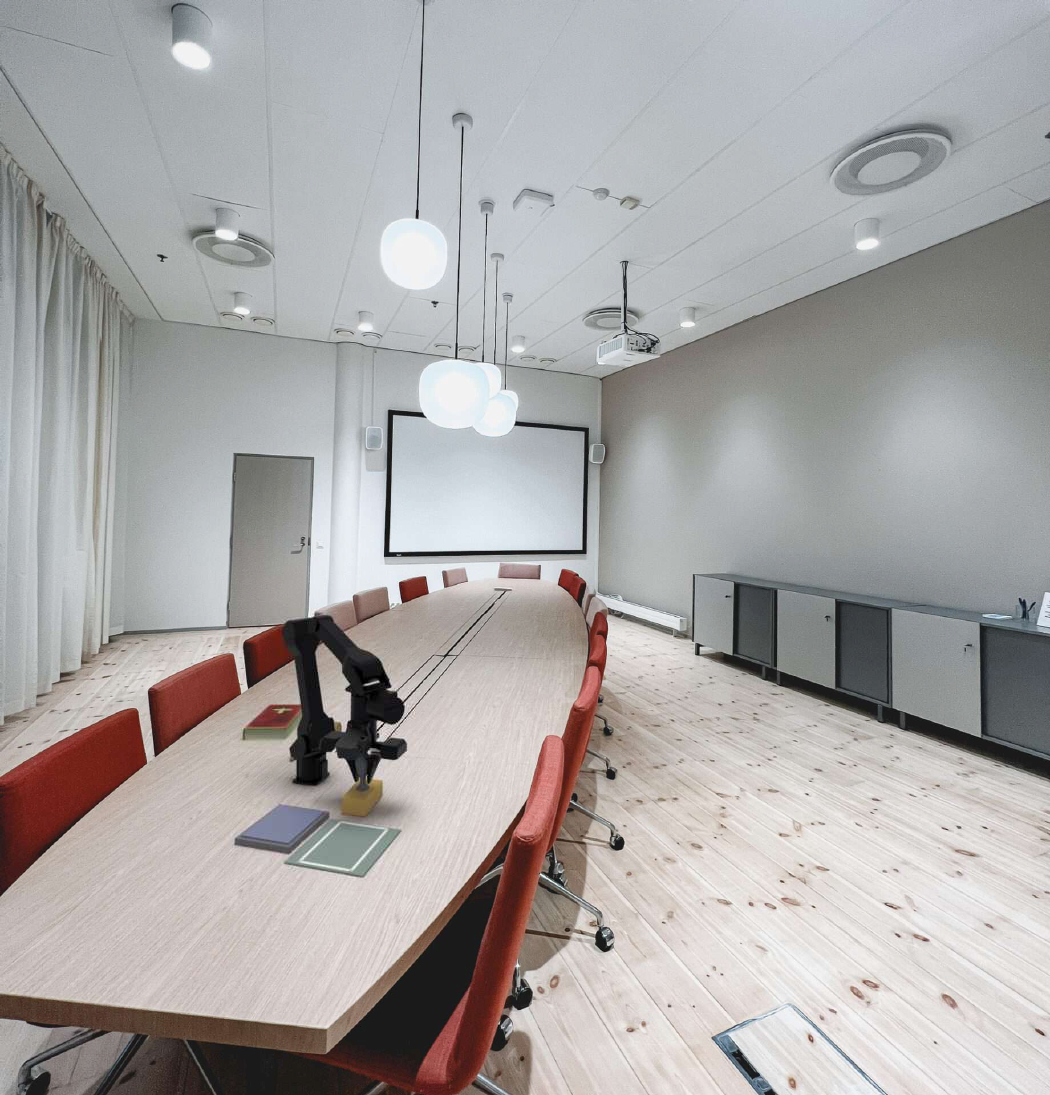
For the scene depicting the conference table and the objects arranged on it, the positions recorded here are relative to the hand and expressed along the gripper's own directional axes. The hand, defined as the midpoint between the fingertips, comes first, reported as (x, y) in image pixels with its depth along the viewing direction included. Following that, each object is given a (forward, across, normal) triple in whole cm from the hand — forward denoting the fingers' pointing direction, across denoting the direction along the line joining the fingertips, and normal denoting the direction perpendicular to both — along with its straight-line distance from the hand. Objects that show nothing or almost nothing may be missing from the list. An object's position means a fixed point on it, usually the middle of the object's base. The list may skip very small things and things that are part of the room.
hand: (362, 782), depth 130 cm
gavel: (+6, -30, +26) cm, 40 cm away
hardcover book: (+6, -48, +36) cm, 60 cm away
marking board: (+5, +5, -16) cm, 17 cm away
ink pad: (+5, -10, -14) cm, 18 cm away
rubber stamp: (+5, 0, 0) cm, 5 cm away
